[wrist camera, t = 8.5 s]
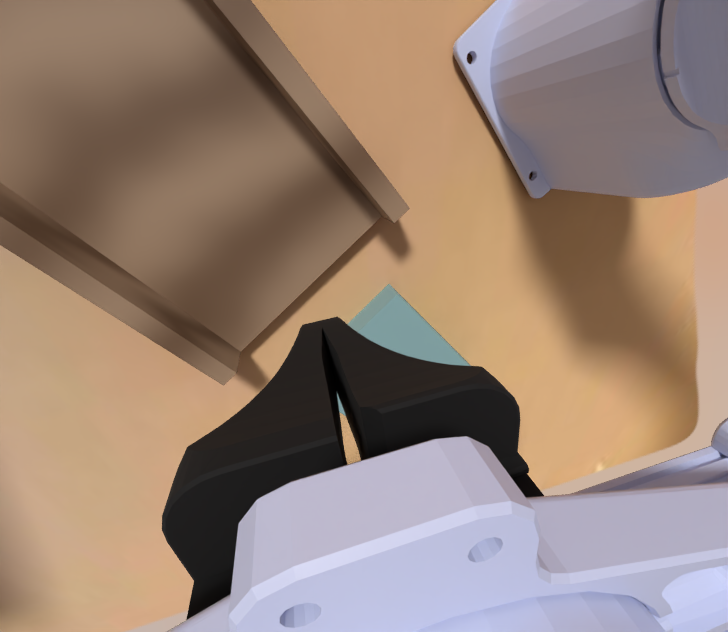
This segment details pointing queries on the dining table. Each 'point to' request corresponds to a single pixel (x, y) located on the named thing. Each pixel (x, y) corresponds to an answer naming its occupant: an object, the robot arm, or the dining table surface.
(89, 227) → the box
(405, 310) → the teal square tile
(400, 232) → the dining table surface
